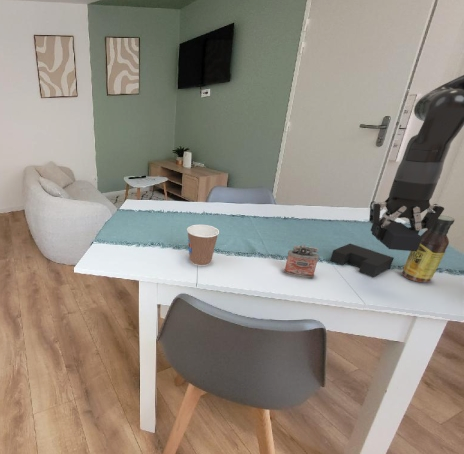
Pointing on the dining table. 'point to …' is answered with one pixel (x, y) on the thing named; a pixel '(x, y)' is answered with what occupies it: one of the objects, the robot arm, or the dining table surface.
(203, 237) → the coffee cup
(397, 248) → the pad
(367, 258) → the notch pad
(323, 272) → the dining table surface
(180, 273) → the dining table surface
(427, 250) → the sauce bottle
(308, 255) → the lighter
